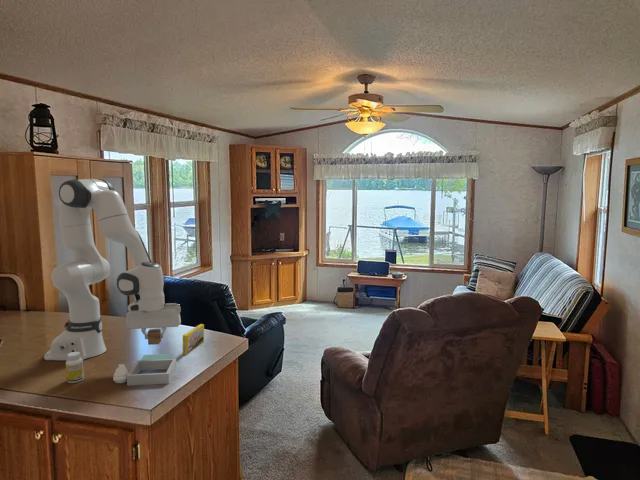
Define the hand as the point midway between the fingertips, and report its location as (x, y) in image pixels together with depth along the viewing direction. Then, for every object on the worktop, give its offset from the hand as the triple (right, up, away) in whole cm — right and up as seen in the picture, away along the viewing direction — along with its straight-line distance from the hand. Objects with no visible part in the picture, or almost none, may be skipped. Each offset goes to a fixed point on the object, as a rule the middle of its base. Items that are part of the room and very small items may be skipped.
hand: (154, 338), depth 178 cm
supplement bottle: (-22, -12, -16) cm, 30 cm away
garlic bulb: (-6, -12, -16) cm, 21 cm away
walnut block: (0, -2, 0) cm, 2 cm away
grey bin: (+4, -11, -13) cm, 17 cm away
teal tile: (0, -9, +1) cm, 9 cm away
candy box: (+11, -8, +16) cm, 21 cm away
